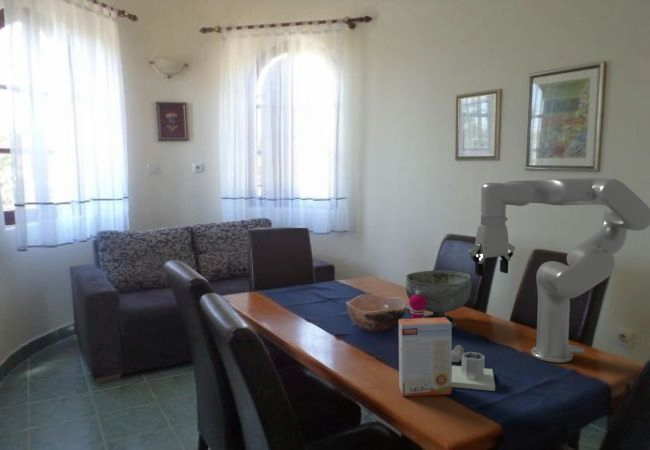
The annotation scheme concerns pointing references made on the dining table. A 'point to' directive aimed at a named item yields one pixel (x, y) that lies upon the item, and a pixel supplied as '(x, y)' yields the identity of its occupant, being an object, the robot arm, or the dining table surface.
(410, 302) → the pepper mill
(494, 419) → the dining table surface
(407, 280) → the decorative bowl
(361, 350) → the dining table surface
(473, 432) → the dining table surface
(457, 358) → the pale two-lobed sculpture
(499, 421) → the dining table surface
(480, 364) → the sleeve
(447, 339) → the cracker box
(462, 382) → the square plate with knob
